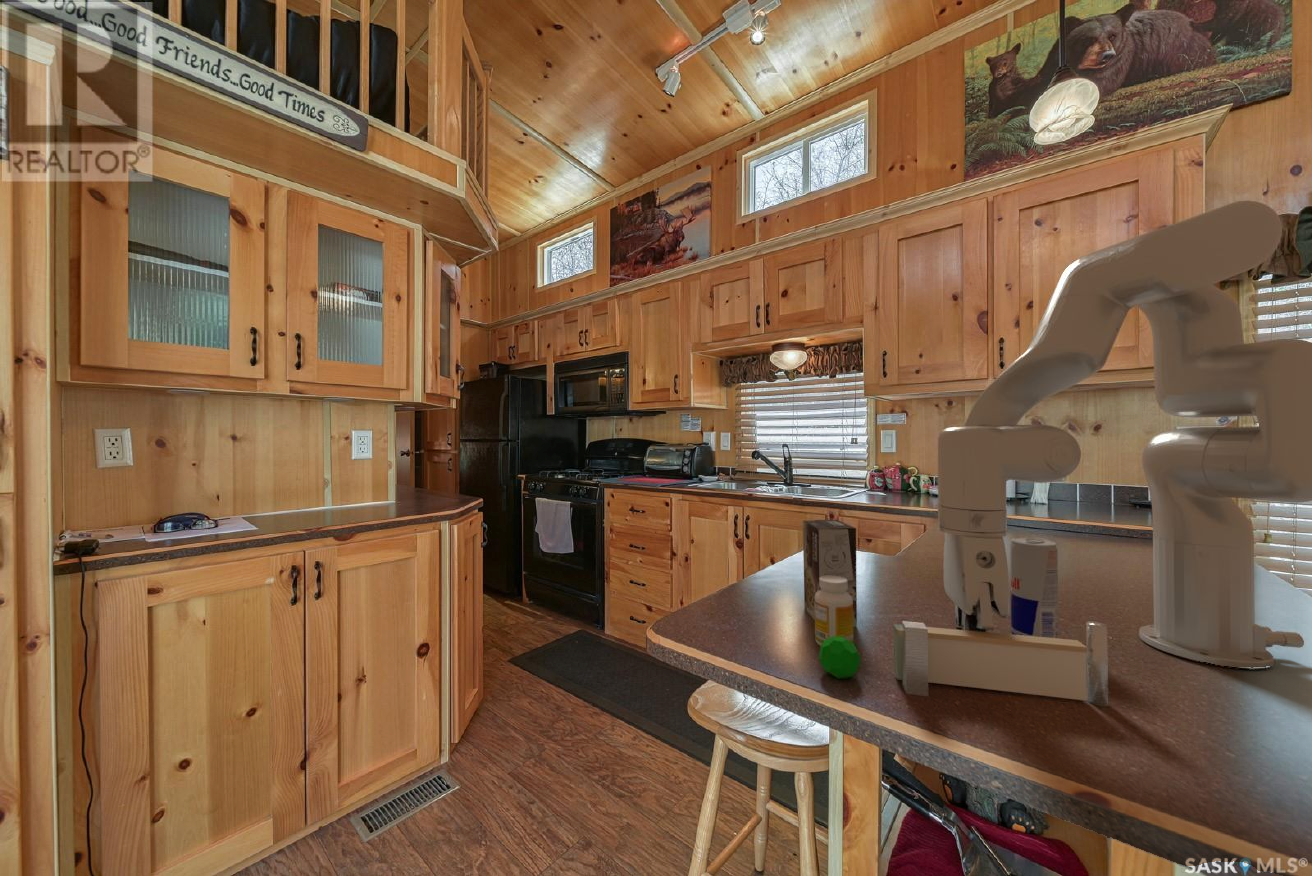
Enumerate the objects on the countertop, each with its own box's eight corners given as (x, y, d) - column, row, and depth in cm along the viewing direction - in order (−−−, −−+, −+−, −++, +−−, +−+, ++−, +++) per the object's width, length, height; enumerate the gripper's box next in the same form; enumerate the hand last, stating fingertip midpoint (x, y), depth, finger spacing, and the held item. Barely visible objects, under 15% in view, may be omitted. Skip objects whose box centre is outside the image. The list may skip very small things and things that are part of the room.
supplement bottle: (854, 639, 74) (853, 575, 74) (852, 654, 69) (851, 586, 69) (817, 633, 76) (816, 572, 76) (812, 647, 71) (812, 581, 71)
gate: (1077, 692, 57) (1077, 640, 57) (1087, 701, 55) (1087, 647, 55) (894, 671, 63) (893, 624, 63) (897, 679, 61) (896, 630, 61)
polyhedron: (831, 663, 66) (831, 628, 66) (867, 676, 62) (866, 639, 62) (812, 675, 63) (811, 638, 63) (848, 689, 59) (847, 650, 59)
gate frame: (1099, 698, 57) (1098, 621, 57) (1115, 709, 54) (1114, 628, 54) (900, 685, 60) (899, 612, 60) (907, 695, 58) (906, 619, 58)
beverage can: (1048, 634, 74) (1047, 537, 74) (1065, 650, 69) (1064, 545, 69) (1005, 630, 76) (1004, 535, 76) (1019, 645, 71) (1018, 543, 71)
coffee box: (858, 627, 78) (857, 528, 78) (818, 627, 78) (817, 528, 78) (838, 607, 87) (837, 518, 87) (802, 607, 87) (801, 518, 87)
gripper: (1032, 533, 55) (1032, 694, 55) (982, 513, 69) (983, 641, 69) (957, 530, 57) (958, 685, 57) (924, 511, 71) (925, 635, 71)
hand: (971, 660), depth 63 cm, fingers closed
